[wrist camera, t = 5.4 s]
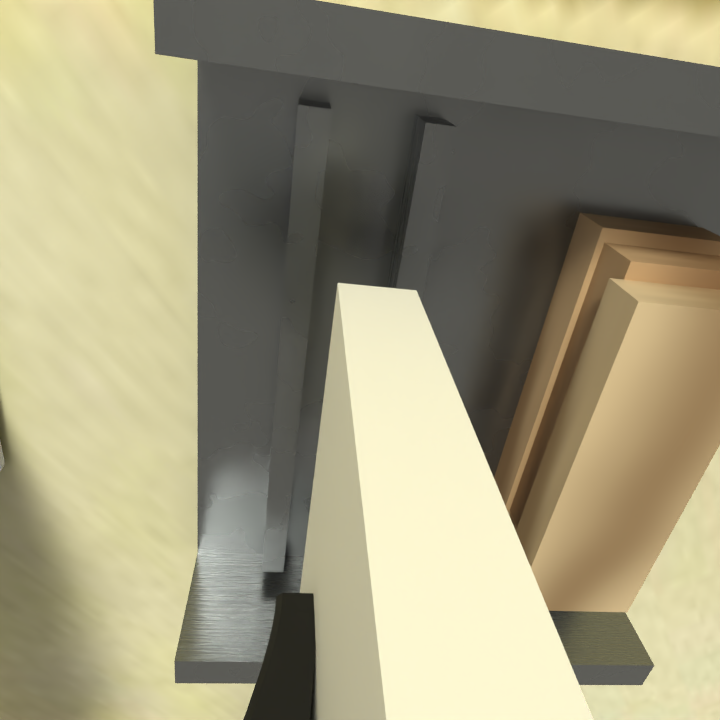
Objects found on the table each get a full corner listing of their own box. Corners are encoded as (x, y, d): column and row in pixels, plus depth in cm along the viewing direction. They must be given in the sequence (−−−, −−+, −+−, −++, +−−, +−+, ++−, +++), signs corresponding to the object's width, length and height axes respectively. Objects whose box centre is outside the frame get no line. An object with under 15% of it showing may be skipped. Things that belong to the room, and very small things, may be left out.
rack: (202, 550, 24) (175, 683, 19) (205, -7, 15) (152, -27, 10) (579, 563, 26) (641, 684, 22) (797, 90, 17) (1000, 114, 12)
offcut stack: (477, 512, 23) (513, 611, 19) (573, 212, 17) (653, 265, 13) (582, 517, 23) (637, 614, 19) (708, 228, 17) (824, 284, 14)
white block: (289, 671, 16) (274, 1189, 9) (337, 282, 11) (400, 848, 3) (341, 671, 17) (367, 1179, 9) (416, 290, 11) (643, 837, 3)
